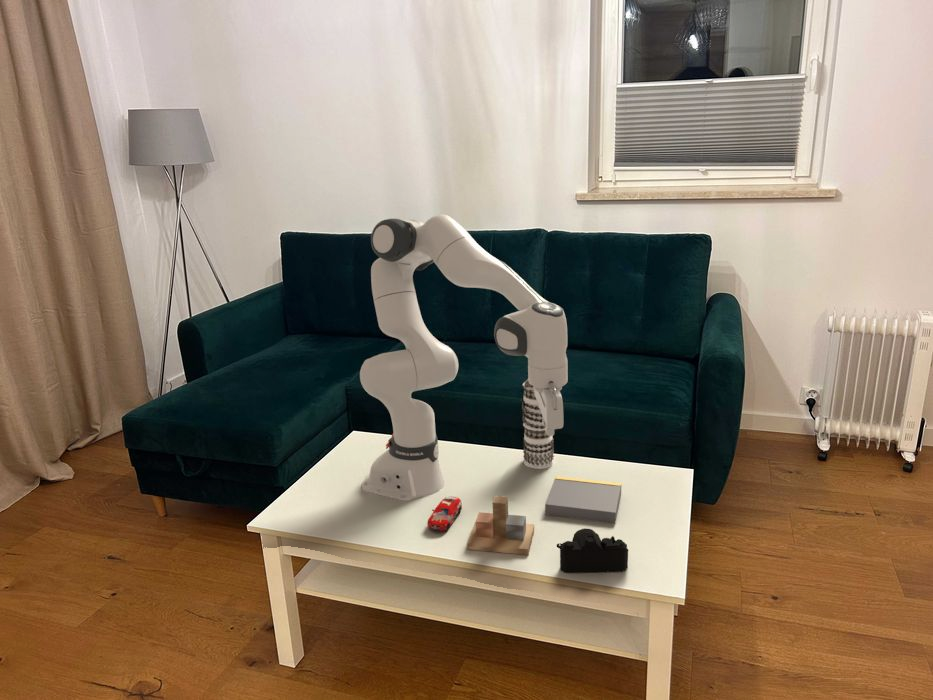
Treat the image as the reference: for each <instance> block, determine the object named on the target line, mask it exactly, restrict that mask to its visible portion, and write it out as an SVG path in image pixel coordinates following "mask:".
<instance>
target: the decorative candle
mask: <svg viewBox="0 0 933 700" xmlns="http://www.w3.org/2000/svg"><path fill="white" fill-rule="evenodd" d="M522 387H523V398H521V399H520V402H521V410H522V411H521V414H522V421H523V422H522V426H523V427H524V433H523V435H524V437H523V440H522V441H523V450H522V453H523V464H524V465H525V466H526V467H529V468H530V469H536V470H543V469H548V468H550V467H552V466H553V465H554V457H555V454H554V452H555V451H554V448H555V447H554V446H555V445H554V441H555V440H554V438H553V436H547V434H546V427H544V426H543V418H542V413H541V411H540V408H539V405H538V403H537V400H536V397H535V394H534V389H533V386H532V385H531V384H530V383H529V381H528V378H527V379H526V381H524V382H523V383H522Z"/></svg>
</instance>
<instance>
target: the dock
mask: <svg viewBox="0 0 933 700" xmlns="http://www.w3.org/2000/svg"><path fill="white" fill-rule="evenodd" d="M621 496H622V483H621V482H619V483H618V482H611V481H603V480H593V479H583V478H576V477H575V478H574V477H566V476H558V475H557V476H554V480H553V483H552V486H551V488H550V490H549V493H548V496H547V499H546V501H545V505H544V507H545V508H544V512H545V513H544V514H545V516H553V517H558V518H559V517H561V518H562V517H563V518H567V519H576V520H585V521H593V522H603V523H609V524H610V523H611V524H616V522H617V517H618V513H619V512H618V511H619V508H620V507H619V506H620V503H621V502H620V501H621Z"/></svg>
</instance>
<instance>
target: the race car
mask: <svg viewBox="0 0 933 700" xmlns="http://www.w3.org/2000/svg"><path fill="white" fill-rule="evenodd" d="M462 504H463V503H462V500H461V499H460V498H459V497H457V496H446V497H444V498H442V499H441V501H439V503H438V505H436V507H435V508H434V509H431V511H432V513H431V515H430V517H428V519H427V523H426V524H427V528H428V529H430V530H433V531H437V532H438V531H439V532H442V531H449V529H450V526H451V525H452V524H453V522H454V521H455V520H456V519H457V517H458V516H459V515H460V514H461V512H462V509H463V507H462Z"/></svg>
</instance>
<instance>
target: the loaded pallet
mask: <svg viewBox="0 0 933 700" xmlns="http://www.w3.org/2000/svg"><path fill="white" fill-rule="evenodd" d="M492 513H493V532H494V538H486V537H476V520H475V521H474V524H473V527H472V529H471V532H470V535H469V538H468V539H467V544H466V546H467V547H466V550H471V551H482V552H493V553H502V554H503V553H504V554H514V555H522V556H523V555H527V556H529V554H530V552H531V551H530V550H531V546H532V542H533V537H534V534H535V524H534V523H526V533H525V537H524V541H519V540H508V539H506V522H507V518H508V515H509V497H508V496H501V495H500V496H499V495H495V496H494V498H493V500H492Z"/></svg>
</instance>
